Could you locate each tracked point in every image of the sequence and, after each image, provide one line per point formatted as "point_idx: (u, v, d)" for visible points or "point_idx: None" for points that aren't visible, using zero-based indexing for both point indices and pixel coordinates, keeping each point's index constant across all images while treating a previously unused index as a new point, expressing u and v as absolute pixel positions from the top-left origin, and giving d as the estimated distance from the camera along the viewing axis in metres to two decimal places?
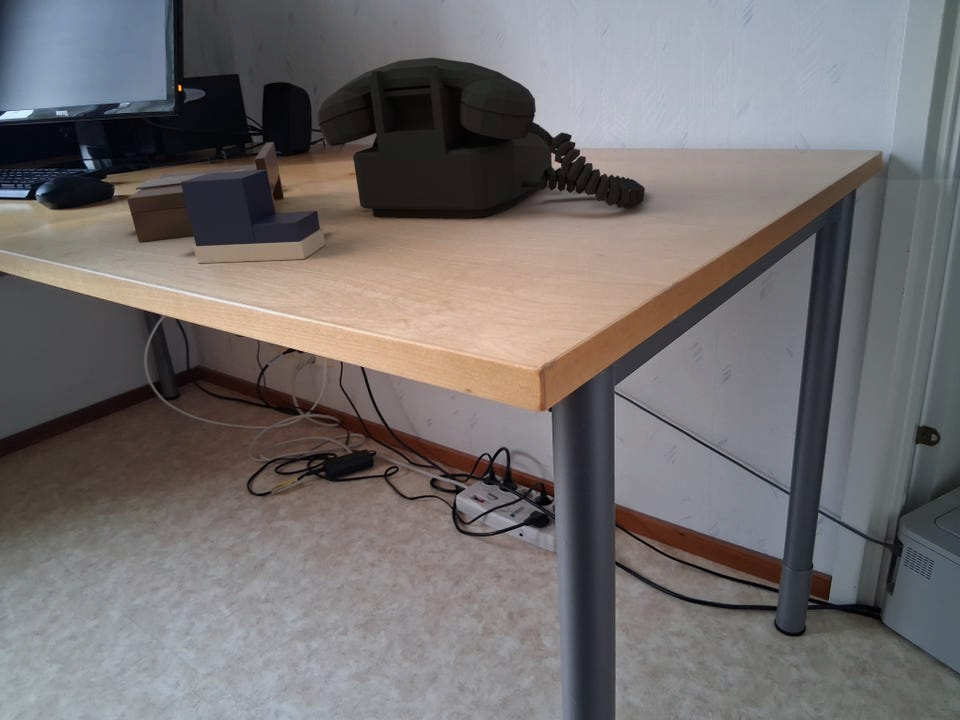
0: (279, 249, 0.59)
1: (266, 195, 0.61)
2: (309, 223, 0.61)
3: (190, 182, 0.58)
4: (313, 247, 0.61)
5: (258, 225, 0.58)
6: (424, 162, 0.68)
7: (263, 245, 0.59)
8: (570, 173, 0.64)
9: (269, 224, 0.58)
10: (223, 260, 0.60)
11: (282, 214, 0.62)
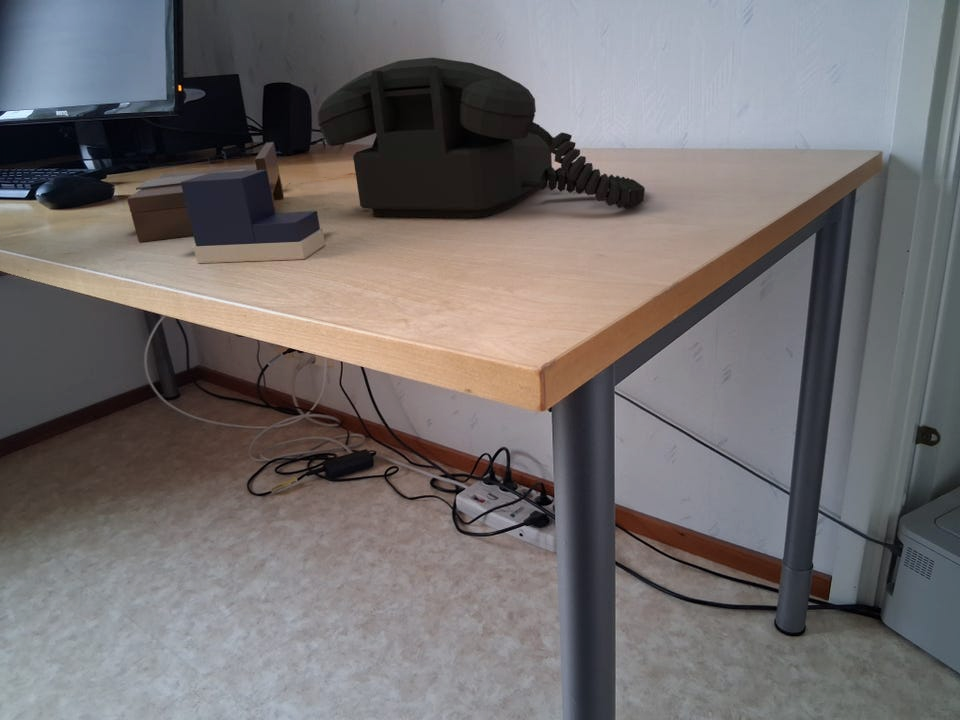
0: (279, 249, 0.59)
1: (266, 195, 0.61)
2: (309, 223, 0.61)
3: (190, 182, 0.58)
4: (313, 247, 0.61)
5: (258, 225, 0.58)
6: (424, 162, 0.68)
7: (263, 245, 0.59)
8: (570, 173, 0.64)
9: (269, 224, 0.58)
10: (223, 260, 0.60)
11: (282, 214, 0.62)
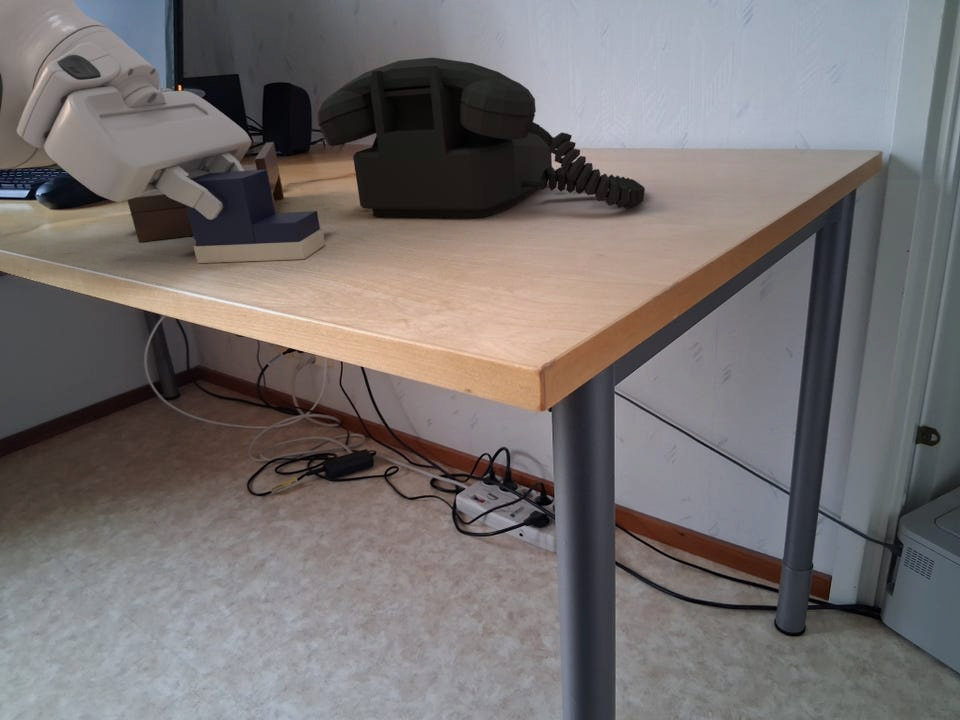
0: (279, 249, 0.59)
1: (266, 195, 0.61)
2: (309, 223, 0.61)
3: None
4: (313, 247, 0.61)
5: (258, 225, 0.58)
6: (424, 162, 0.68)
7: (263, 245, 0.59)
8: (570, 173, 0.64)
9: (269, 224, 0.58)
10: (223, 260, 0.60)
11: (282, 214, 0.62)
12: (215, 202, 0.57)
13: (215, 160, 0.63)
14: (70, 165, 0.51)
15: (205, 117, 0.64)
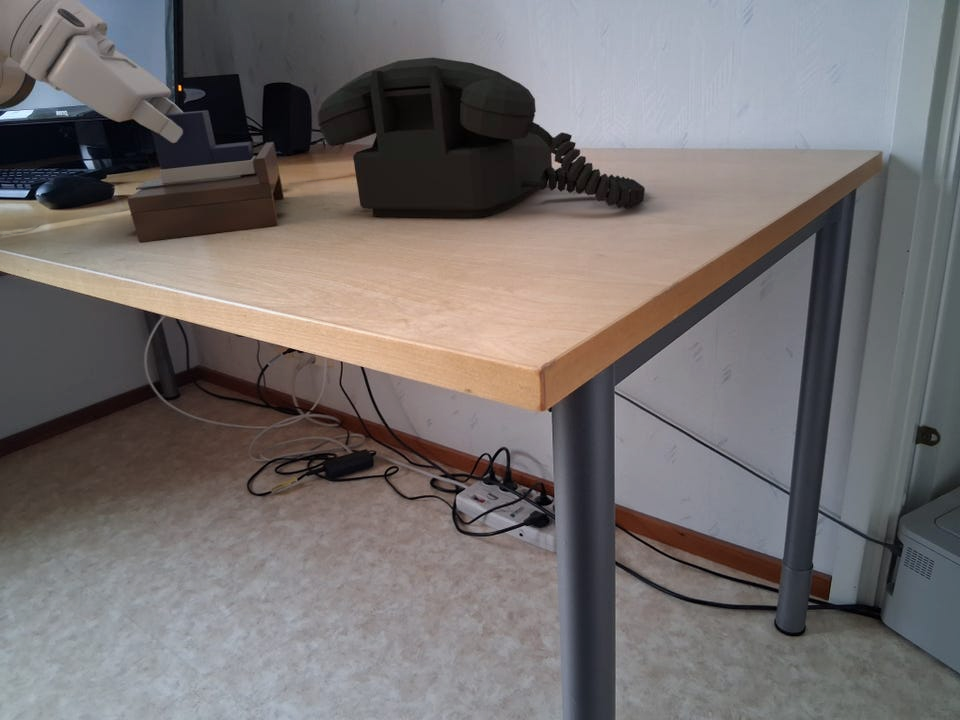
0: (234, 167, 0.78)
1: (210, 129, 0.79)
2: (250, 149, 0.80)
3: None
4: (255, 167, 0.80)
5: (216, 149, 0.77)
6: (424, 162, 0.68)
7: (220, 164, 0.77)
8: (570, 173, 0.64)
9: (225, 147, 0.77)
10: (186, 179, 0.77)
11: (224, 144, 0.80)
12: (178, 128, 0.72)
13: (158, 102, 0.80)
14: (79, 91, 0.66)
15: (138, 69, 0.79)
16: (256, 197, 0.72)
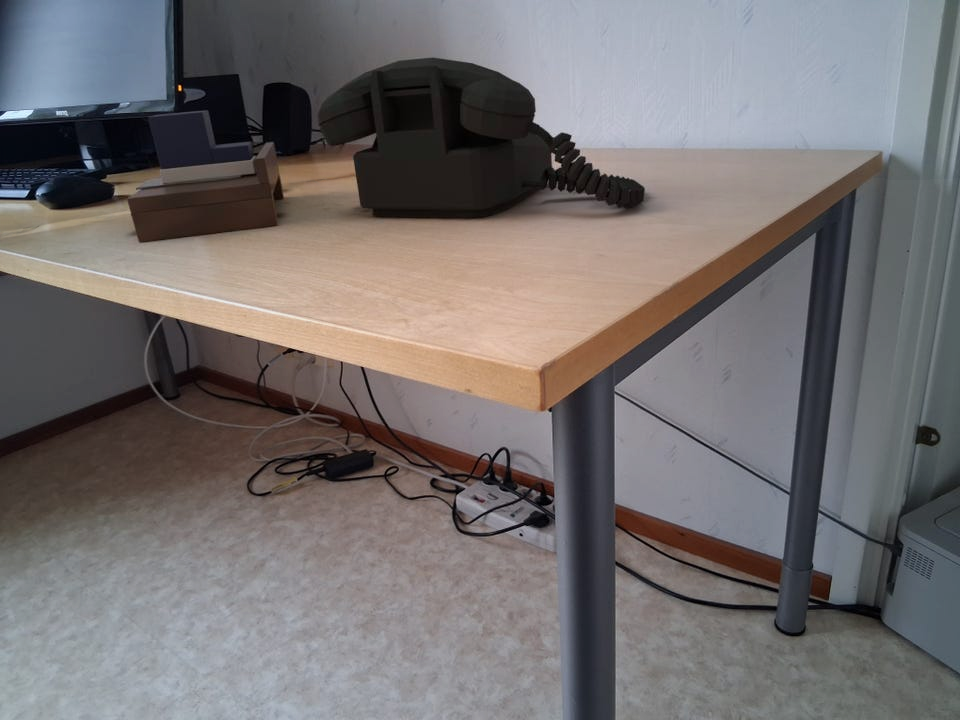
0: (234, 167, 0.78)
1: (210, 129, 0.79)
2: (250, 149, 0.80)
3: (157, 117, 0.74)
4: (255, 167, 0.80)
5: (216, 149, 0.77)
6: (424, 162, 0.68)
7: (220, 164, 0.77)
8: (570, 173, 0.64)
9: (225, 147, 0.77)
10: (186, 179, 0.77)
11: (224, 144, 0.80)
12: None
13: None
14: None
15: None
16: (256, 197, 0.72)
